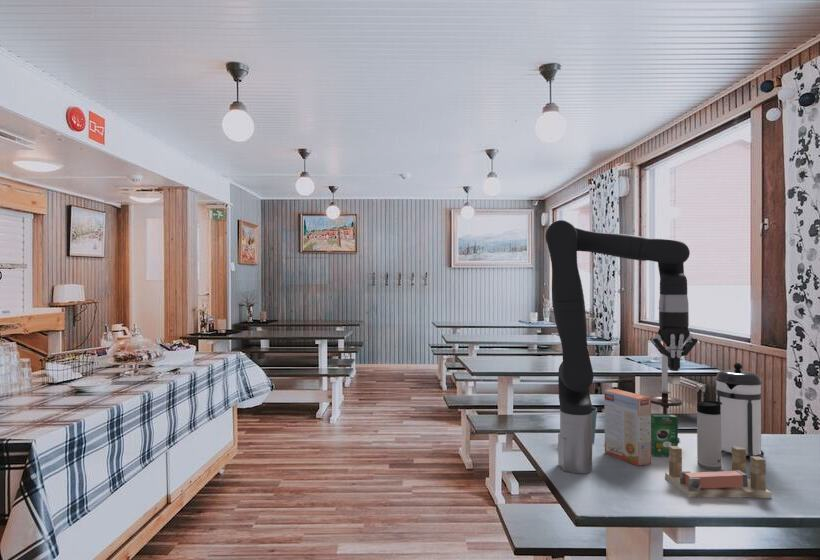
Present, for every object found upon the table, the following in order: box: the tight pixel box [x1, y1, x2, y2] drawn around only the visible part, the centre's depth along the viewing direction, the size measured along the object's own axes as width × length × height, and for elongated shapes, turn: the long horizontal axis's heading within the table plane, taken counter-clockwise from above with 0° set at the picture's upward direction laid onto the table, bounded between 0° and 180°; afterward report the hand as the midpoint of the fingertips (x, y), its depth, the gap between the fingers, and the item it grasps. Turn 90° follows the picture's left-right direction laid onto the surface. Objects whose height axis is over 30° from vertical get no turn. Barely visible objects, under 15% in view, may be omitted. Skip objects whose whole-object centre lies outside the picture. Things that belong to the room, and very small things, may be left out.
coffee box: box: [651, 413, 679, 457], centre depth 159 cm, size 8×3×13 cm, turn 91°
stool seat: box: [664, 446, 772, 499], centre depth 134 cm, size 21×14×10 cm, turn 88°
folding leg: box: [685, 470, 748, 488], centre depth 130 cm, size 3×3×14 cm
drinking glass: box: [592, 405, 598, 444], centre depth 174 cm, size 10×10×12 cm
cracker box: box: [604, 388, 652, 467], centre depth 157 cm, size 14×6×21 cm, turn 22°
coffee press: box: [714, 362, 765, 463], centre depth 160 cm, size 17×16×30 cm
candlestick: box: [650, 342, 683, 444], centre depth 175 cm, size 11×11×35 cm
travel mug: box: [696, 400, 723, 472], centre depth 149 cm, size 6×7×20 cm
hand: (674, 370), depth 141 cm, fingers closed
